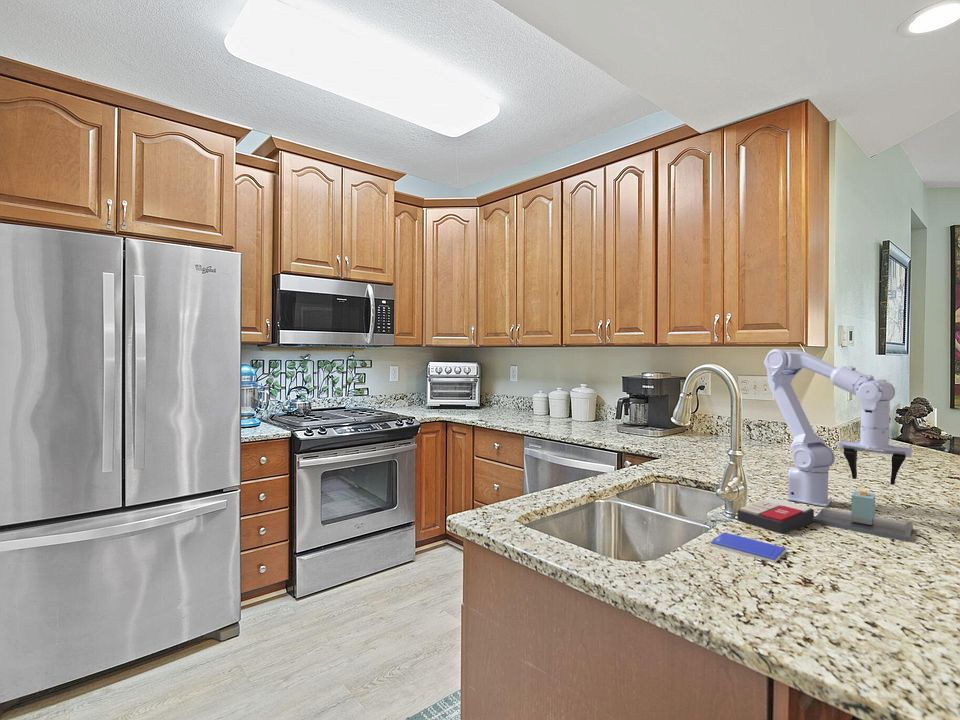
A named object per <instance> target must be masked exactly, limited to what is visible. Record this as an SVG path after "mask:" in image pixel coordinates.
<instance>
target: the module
mask: <svg viewBox="0 0 960 720" xmlns="http://www.w3.org/2000/svg"><path fill="white" fill-rule="evenodd" d="M850 512H851V521H853V522H859V523H864V524H869V525H872V524H873V517H874V516H875V517H876V493H874V492H868V491H867V490H863V489H861V490H860V491H859V490H854V492H853V493H852V494H851V510H850Z"/></svg>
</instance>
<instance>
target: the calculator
mask: <svg viewBox="0 0 960 720" xmlns="http://www.w3.org/2000/svg"><path fill="white" fill-rule="evenodd" d="M736 514H737V522H741V523H745V524H747V525H750V526H753V527H757V528H761V529H764V530H768V531H769V532H770V531H771V532H773V533H777V534H780V535H783V534H784V535H785V534H787V533H791V532H792V531H795V530H797V529H800V528H802V527H804V526H805V527H807V526H810V525H814V524H815V523H814V518H815V510H814V508H811V507H808V506H805V505H801V504H797V503H793V502H788V501H784V500H782V499H781V500H780V499H776V498H772V497H769V498H766V499H764V500H759V501H756V502H754V503H752V504H747V505H745V506H743V507H740V508H739V509H737V513H736Z"/></svg>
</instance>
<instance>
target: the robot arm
mask: <svg viewBox="0 0 960 720" xmlns="http://www.w3.org/2000/svg"><path fill="white" fill-rule="evenodd" d="M763 364H764V367H765V370H766V374H767V385H768V387H769V389H770V392H771V394H772V396H773V398H774V400H775V402H776V405H777V406H778V409H779V411H780V413H781V416H782V417H783V419H784V421H785V424H786V426H787V428H788V430H789V433H790V434H791V436H792V438H793V440H792V441H791V443H790V446H789V447H790V450H791V453H792V454H791V455H792V456H791V457H792V462H793V463H794V465H795V466H796V467H793V466H791V467H790V468H789V469H788V474H787V498H786V500H787V501H793V502H798V503H802V504H809V505H814V506H821V507H826V508H828V506H829V505H830V504H831V503H832V501H833V500H832V499H831V498H829V473H830V472H829V471H830V467H831V466H832V465H833V464H834V463H835V459H836V456H835V453H834V450H832V449H831V447H829V446H828V445H827V444H826V442H825V440H824V439H823V437H821V436H819V435H817V434H816V433H815V431H814V430H813V427H812V425H811V423H810V421H809V419H808V417H807V415H806V413H805V411H804V409H803V407H802V404H801V402H800V400H799V399H798V396H797V395H796V393H795V390H794V388H793V386H792V381H793V379H795V377H796V376H797V375H798V374H799V373H800V372H801V370H802V369H805V370H809V371H811V372H814V373H816V374H819V375H822V376H823V377H826V378H828V379H830V381H831V384H832V385H833V386H835V387H837V388H839V389H842V390H843V391H846V392H848V393H850V394H852V395H854V396H856V398H857V399H858V400H859V401H860V432H859V433H860V435H859V436H860V437H859V441H860V442H859V441H846V440H845V441H844V440H839V441H838V449H839V450H843V452H842V453H843V456H844V458H845V460H846V461H847V464H848V466H849V469H850V472H851V478H852V480H856V479H857V478H858V470H857V469H858V467H857V460H858V452H867V453H873V454H874V453H875V454H884V455H892V456H891V475H890V485H891V486H892V485H893V486H894V485H895V484H896V479H897V476H898V472H899V470H900V468H901V466H902V465H903V463H904V462H905V460H906V458H912V456H913V455H912V454H913V449H912V448H911V447H902V446H897V445H890V444H889V443H890V438H889V437H890V412H891V411H890V407H891V405H890V404H891V403H890V401H892V400H893V399H894V397H895V394H896V389H895V387H894V385H893V384H892V383H891V382H889V381H888V380H886V379H876V380H875V376H874V375H871V374H865V373H863V372H860V371H857V370H856V367H855V366H840V367H836V366H834V365H833V364H831V363H828V362H826V361H824V360H822V359H820V358H818V357H816V356H814V355H812V354H810V353H809V352H805V351H802V350H801V349H800V350H799V349H779V348H774V349H772V350H770V351H769V352H768V353H767V355H766V357H765V359H764V361H763Z"/></svg>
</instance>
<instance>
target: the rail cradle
mask: <svg viewBox="0 0 960 720" xmlns="http://www.w3.org/2000/svg"><path fill="white" fill-rule="evenodd" d="M813 524H818V525H822V526H823V525H825V526H828V527H834V528H837V529H838V528H839V529H845V530H847V531H854V532H858V533H863V534H868V535H872V534H873V536H877V535H878V537H884V538H887V539H894V540H898V541H902V542H909V543H910V542H911V538H912V534H913V529H914V524H912V523H907V522H906V521H902V520H896V519H892V518H891V519H890V518H885V517H879V516H876V515H875V516H874V517H873V524H872V525H869V524H864V523H859V522H853V521H851V511H847V510H843V509H842V510H841V509H835V508H830V507H825V506H823V507H822V509H821V510H820V511H819V512H818V513H817V515H816V516H814V523H813Z"/></svg>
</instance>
